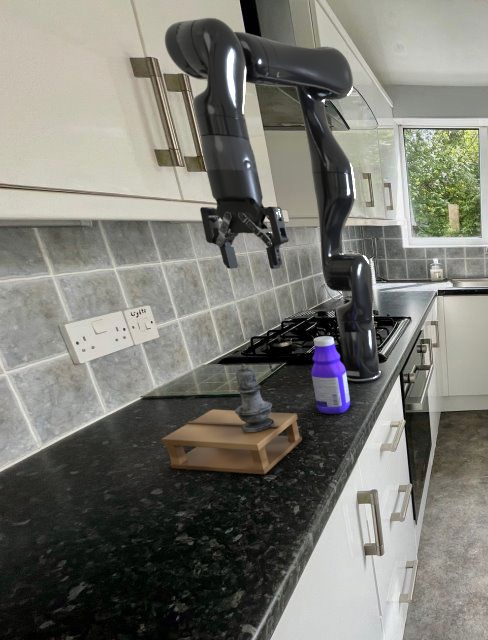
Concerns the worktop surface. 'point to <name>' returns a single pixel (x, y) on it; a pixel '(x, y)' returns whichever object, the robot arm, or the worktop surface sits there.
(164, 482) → the worktop surface
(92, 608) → the worktop surface
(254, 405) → the grey tall turned figure
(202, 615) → the worktop surface
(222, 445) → the oak rack
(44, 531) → the worktop surface
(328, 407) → the bottle
